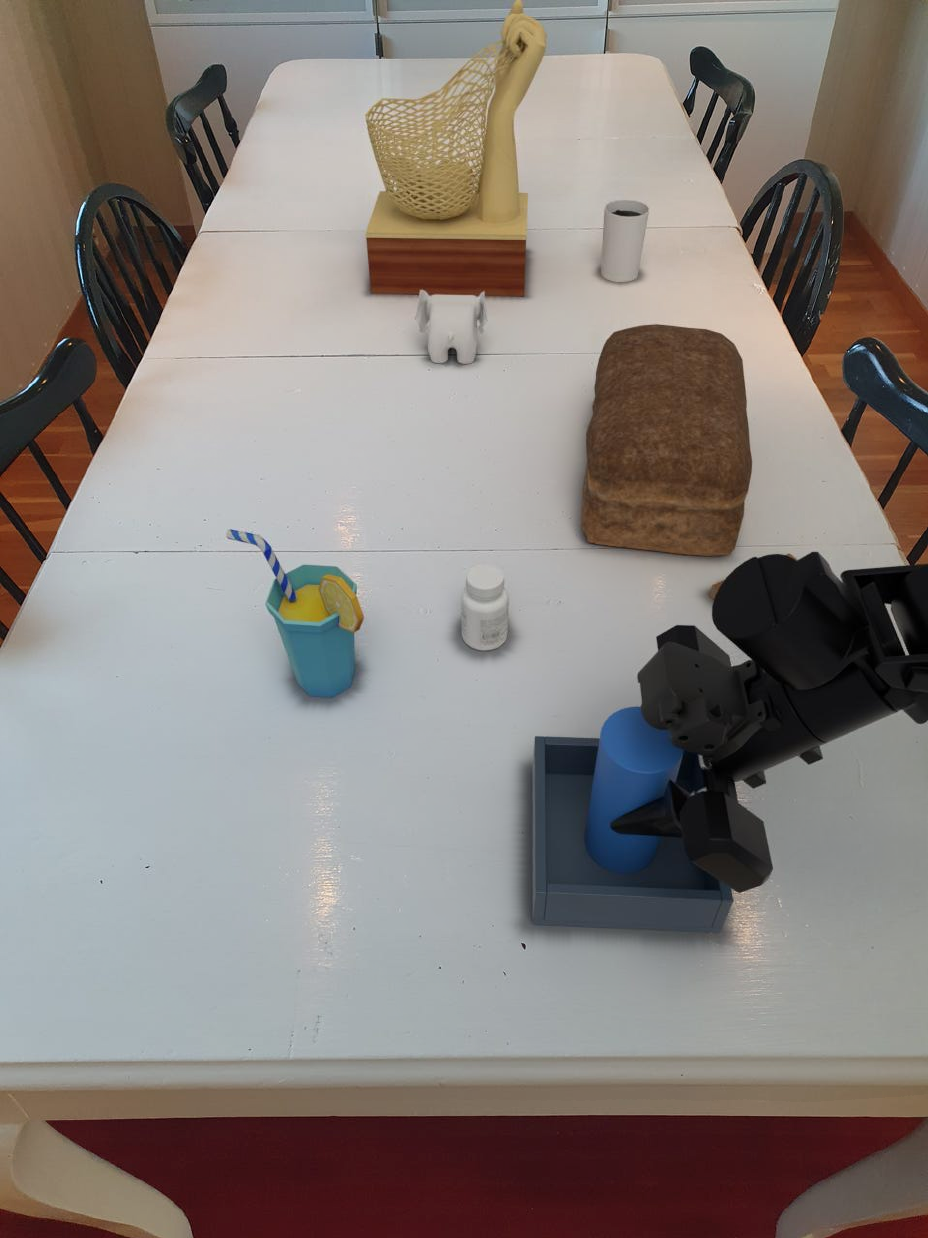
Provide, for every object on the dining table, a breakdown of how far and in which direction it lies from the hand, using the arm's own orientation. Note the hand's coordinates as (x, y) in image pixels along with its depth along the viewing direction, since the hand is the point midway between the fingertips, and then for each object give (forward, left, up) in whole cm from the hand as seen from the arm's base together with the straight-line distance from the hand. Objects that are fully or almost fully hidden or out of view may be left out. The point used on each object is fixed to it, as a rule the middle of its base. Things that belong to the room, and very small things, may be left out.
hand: (611, 793), depth 66 cm
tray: (-1, -1, -7) cm, 7 cm away
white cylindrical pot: (+86, -53, -7) cm, 102 cm away
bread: (+39, -30, -7) cm, 50 cm away
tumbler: (-1, -1, -6) cm, 7 cm away
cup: (+26, +15, -7) cm, 31 cm away
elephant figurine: (+75, -20, -7) cm, 78 cm away
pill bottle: (+24, -1, -7) cm, 25 cm away
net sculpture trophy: (+97, -30, -7) cm, 102 cm away
